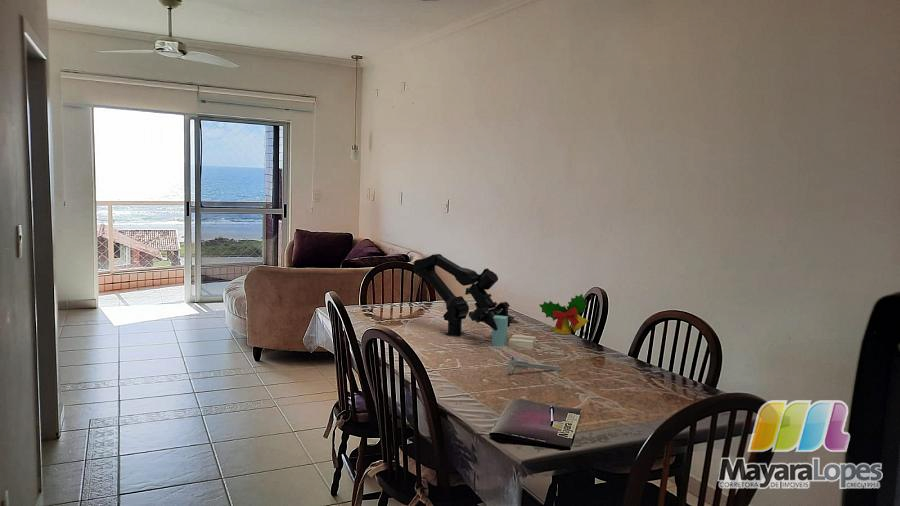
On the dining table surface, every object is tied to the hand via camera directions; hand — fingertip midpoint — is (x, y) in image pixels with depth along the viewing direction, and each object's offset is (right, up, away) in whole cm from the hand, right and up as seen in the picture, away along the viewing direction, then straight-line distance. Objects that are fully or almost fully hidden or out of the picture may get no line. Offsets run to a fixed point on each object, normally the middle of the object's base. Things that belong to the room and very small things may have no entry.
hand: (502, 328), depth 247 cm
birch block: (+8, -7, 0) cm, 11 cm away
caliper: (+8, -11, -33) cm, 36 cm away
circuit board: (+2, -2, +50) cm, 50 cm away
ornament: (+28, -5, +26) cm, 38 cm away
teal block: (-1, -7, +2) cm, 7 cm away
